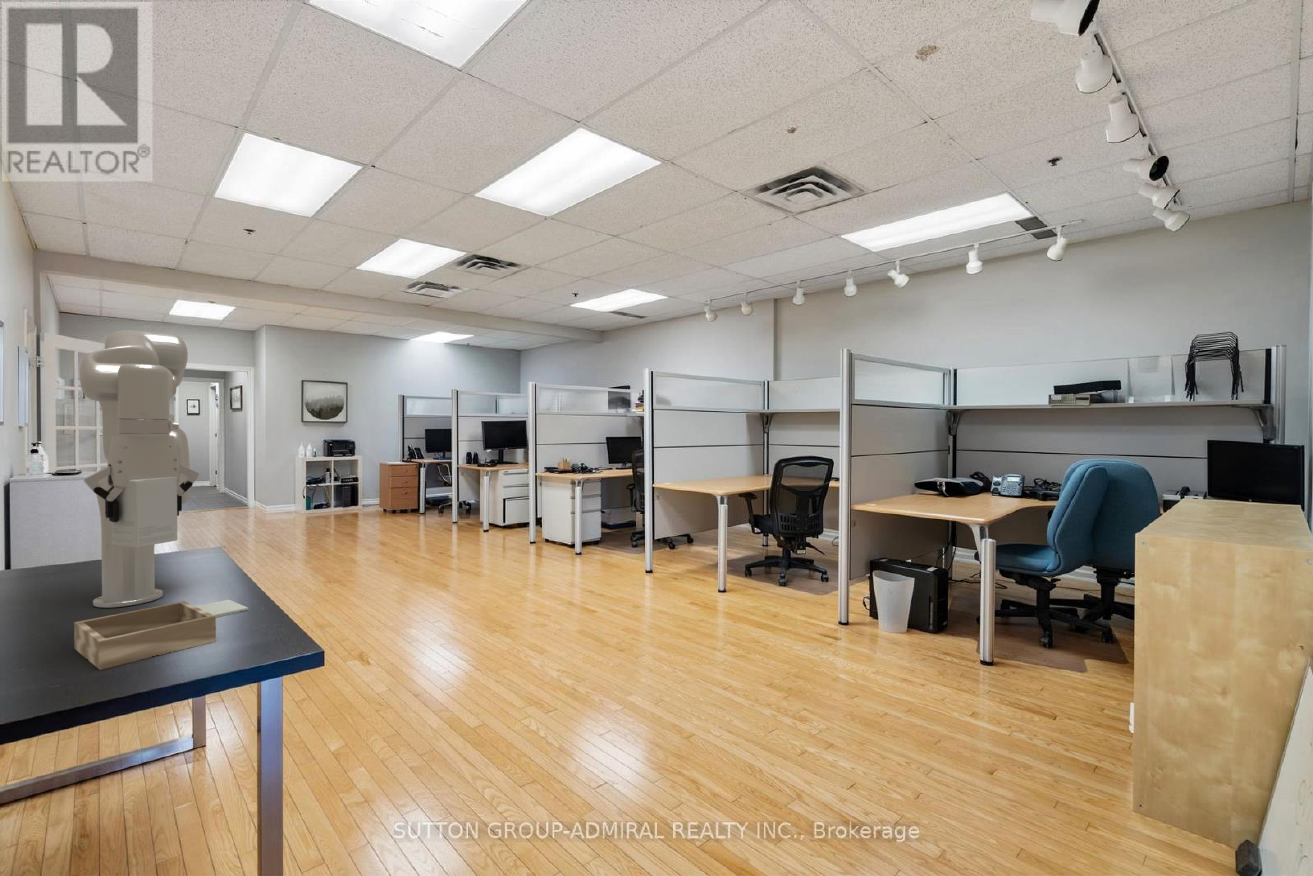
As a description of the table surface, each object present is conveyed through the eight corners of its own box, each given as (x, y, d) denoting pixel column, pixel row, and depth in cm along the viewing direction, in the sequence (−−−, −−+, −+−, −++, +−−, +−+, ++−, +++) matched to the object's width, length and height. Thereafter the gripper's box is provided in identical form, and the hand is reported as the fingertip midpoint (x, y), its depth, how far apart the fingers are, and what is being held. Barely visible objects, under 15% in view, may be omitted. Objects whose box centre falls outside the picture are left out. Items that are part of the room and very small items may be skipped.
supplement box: (179, 540, 117) (178, 476, 116) (135, 548, 110) (135, 480, 109) (154, 537, 119) (153, 474, 119) (109, 544, 112) (109, 478, 112)
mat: (171, 613, 133) (171, 611, 133) (228, 602, 142) (228, 599, 142) (190, 623, 127) (189, 620, 127) (248, 610, 136) (248, 607, 136)
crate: (74, 648, 112) (74, 622, 112) (184, 624, 126) (184, 601, 126) (99, 670, 103) (99, 641, 102) (215, 641, 116) (215, 616, 116)
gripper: (192, 428, 123) (192, 511, 124) (77, 428, 109) (78, 522, 109) (206, 429, 119) (206, 515, 119) (88, 429, 104) (89, 527, 105)
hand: (145, 518), depth 114 cm, fingers closed on supplement box, 8 cm apart
